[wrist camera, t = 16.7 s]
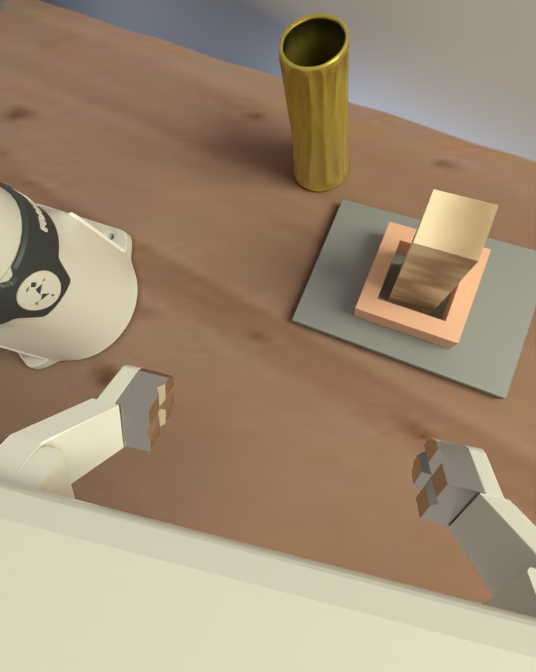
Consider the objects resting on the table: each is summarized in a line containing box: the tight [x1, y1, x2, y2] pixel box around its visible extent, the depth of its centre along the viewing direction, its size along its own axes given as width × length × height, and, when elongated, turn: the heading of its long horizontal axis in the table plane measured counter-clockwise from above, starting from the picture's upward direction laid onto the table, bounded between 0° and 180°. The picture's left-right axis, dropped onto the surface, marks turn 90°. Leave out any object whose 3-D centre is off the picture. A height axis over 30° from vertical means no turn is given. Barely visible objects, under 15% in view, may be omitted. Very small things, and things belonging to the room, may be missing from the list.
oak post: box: [388, 190, 498, 315], centre depth 29 cm, size 4×4×12 cm
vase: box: [279, 13, 349, 192], centre depth 33 cm, size 6×6×14 cm
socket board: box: [292, 200, 536, 399], centre depth 34 cm, size 20×14×4 cm
